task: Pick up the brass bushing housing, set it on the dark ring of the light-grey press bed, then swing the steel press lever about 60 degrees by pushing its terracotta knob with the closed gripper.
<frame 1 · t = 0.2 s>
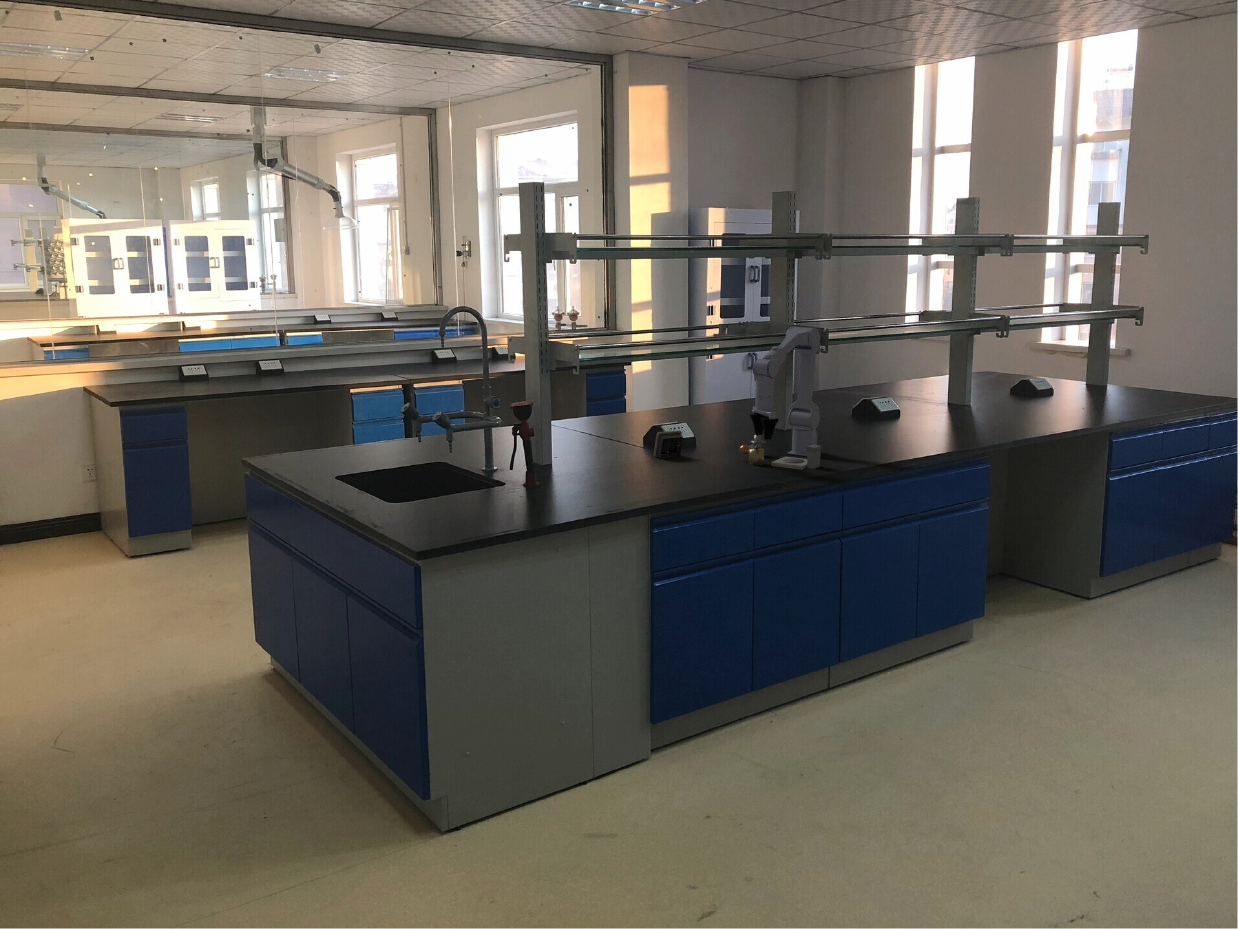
hand: (763, 437, 332), 10 cm above the worktop, fingers open, 7 cm apart
electrical switch: (669, 457, 349), on the worktop
pivot post: (757, 455, 352), on the worktop
press bed: (793, 464, 336), on the worktop
lever: (748, 448, 345), point 4 cm above the worktop, hinge at 0.0°
housing: (756, 464, 338), on the worktop
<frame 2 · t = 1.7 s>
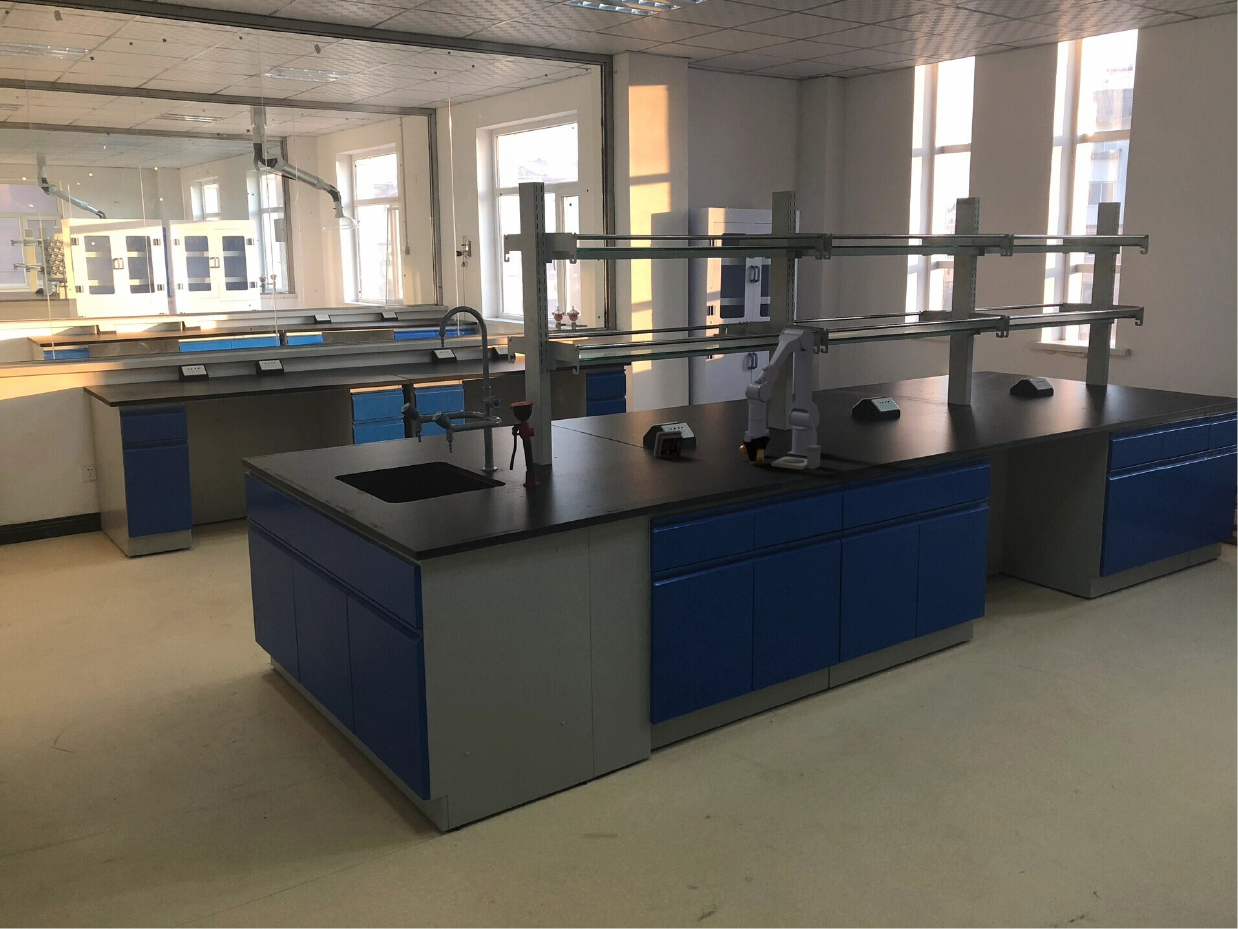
hand: (756, 459, 337), 1 cm above the worktop, fingers closed on housing, 5 cm apart
housing: (756, 463, 338), on the worktop, touching gripper
everything else where it was.
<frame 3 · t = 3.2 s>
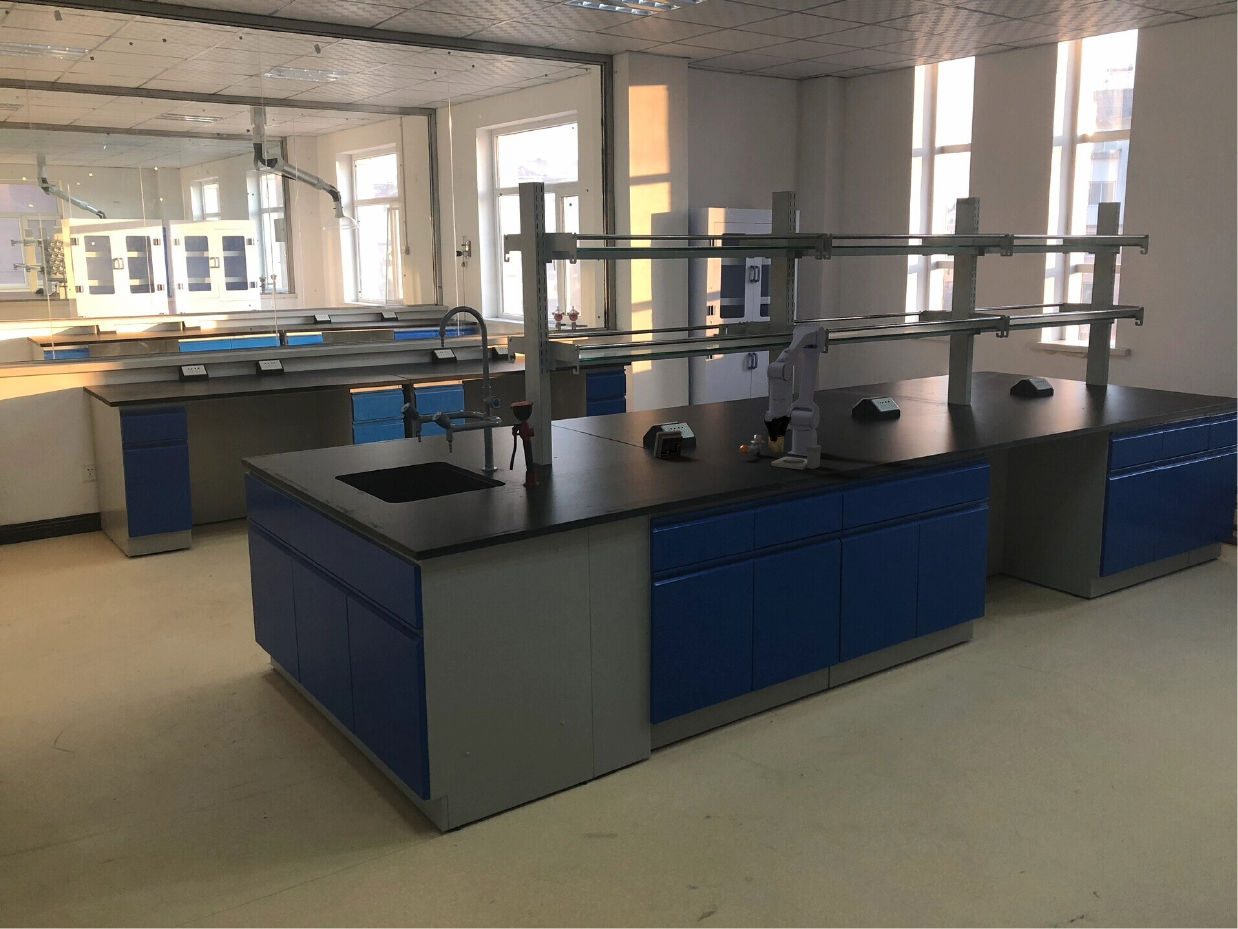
hand: (777, 439, 335), 8 cm above the worktop, fingers closed on housing, 5 cm apart
housing: (775, 450, 336), point 4 cm above the worktop, touching gripper
everything else where it was.
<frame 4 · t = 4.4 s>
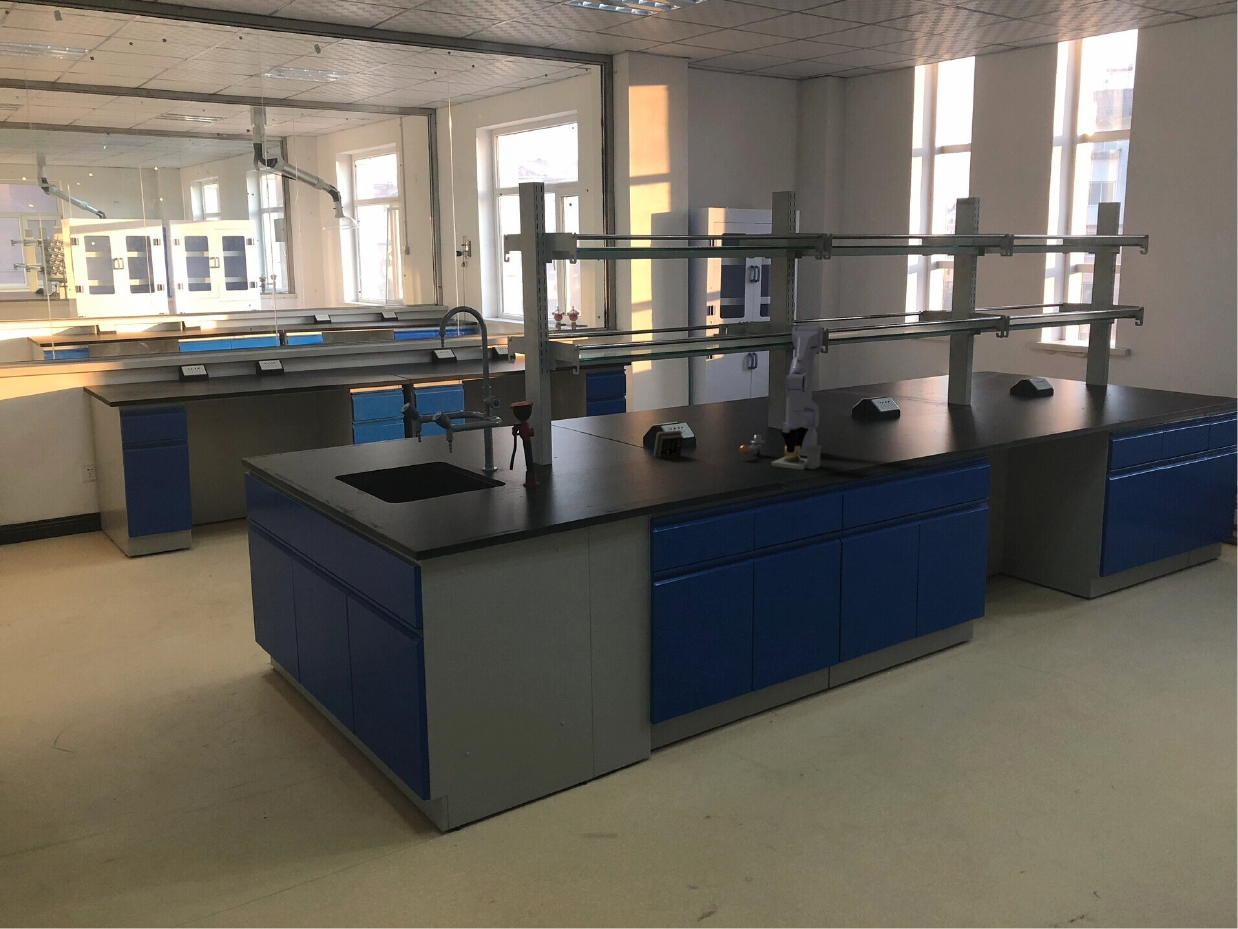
hand: (794, 451, 335), 5 cm above the worktop, fingers closed on housing, 5 cm apart
housing: (792, 460, 336), point 1 cm above the worktop, touching gripper, press bed
everything else where it was.
when the fingers open (4 cm above the worktop, at t = 5.1 s): housing stays where it is, resting on press bed.
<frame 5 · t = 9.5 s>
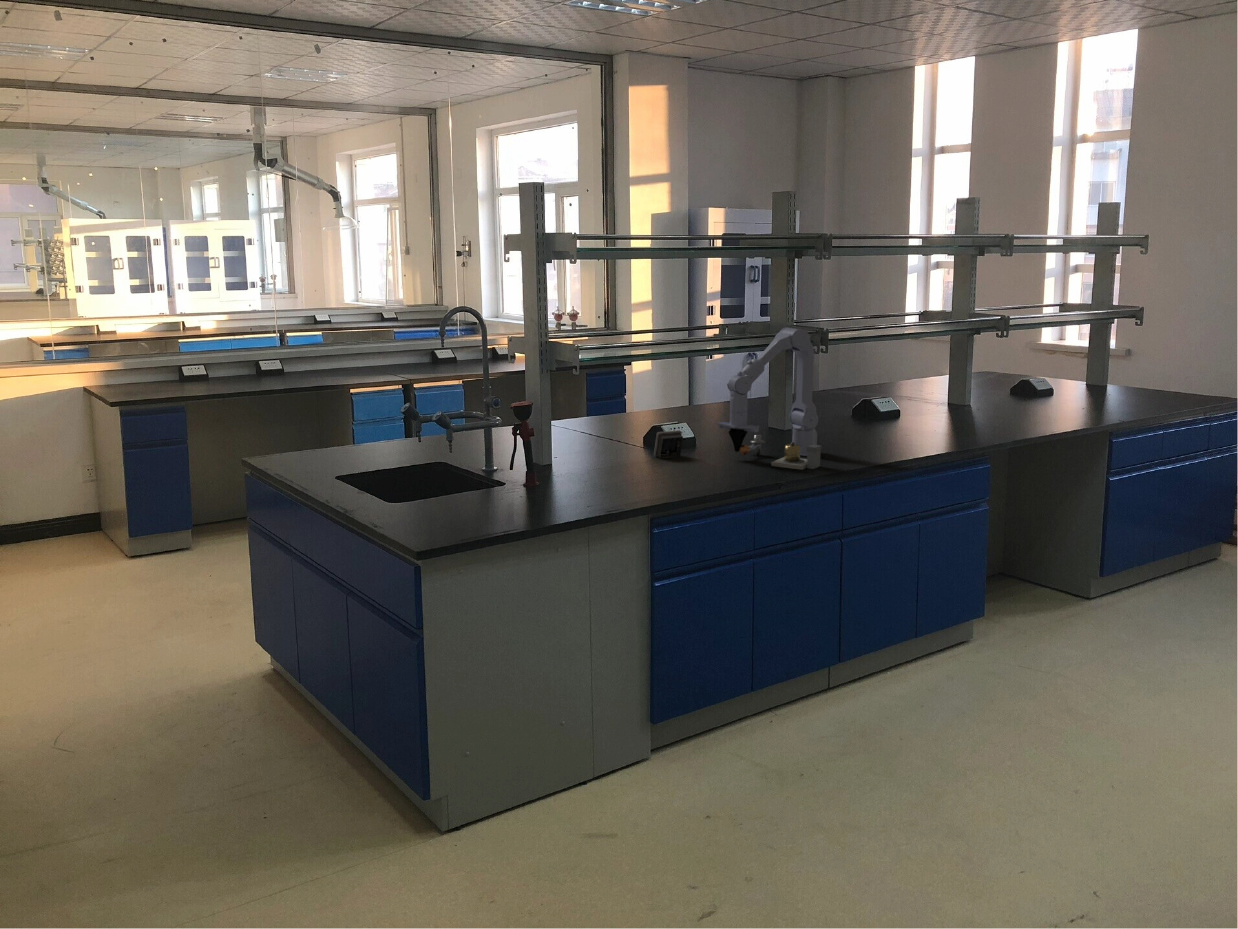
hand: (737, 451, 344), 3 cm above the worktop, fingers closed
lever: (748, 448, 345), point 3 cm above the worktop, hinge at 0.2°, touching gripper
housing: (792, 460, 336), point 1 cm above the worktop, touching press bed
everything else where it was.
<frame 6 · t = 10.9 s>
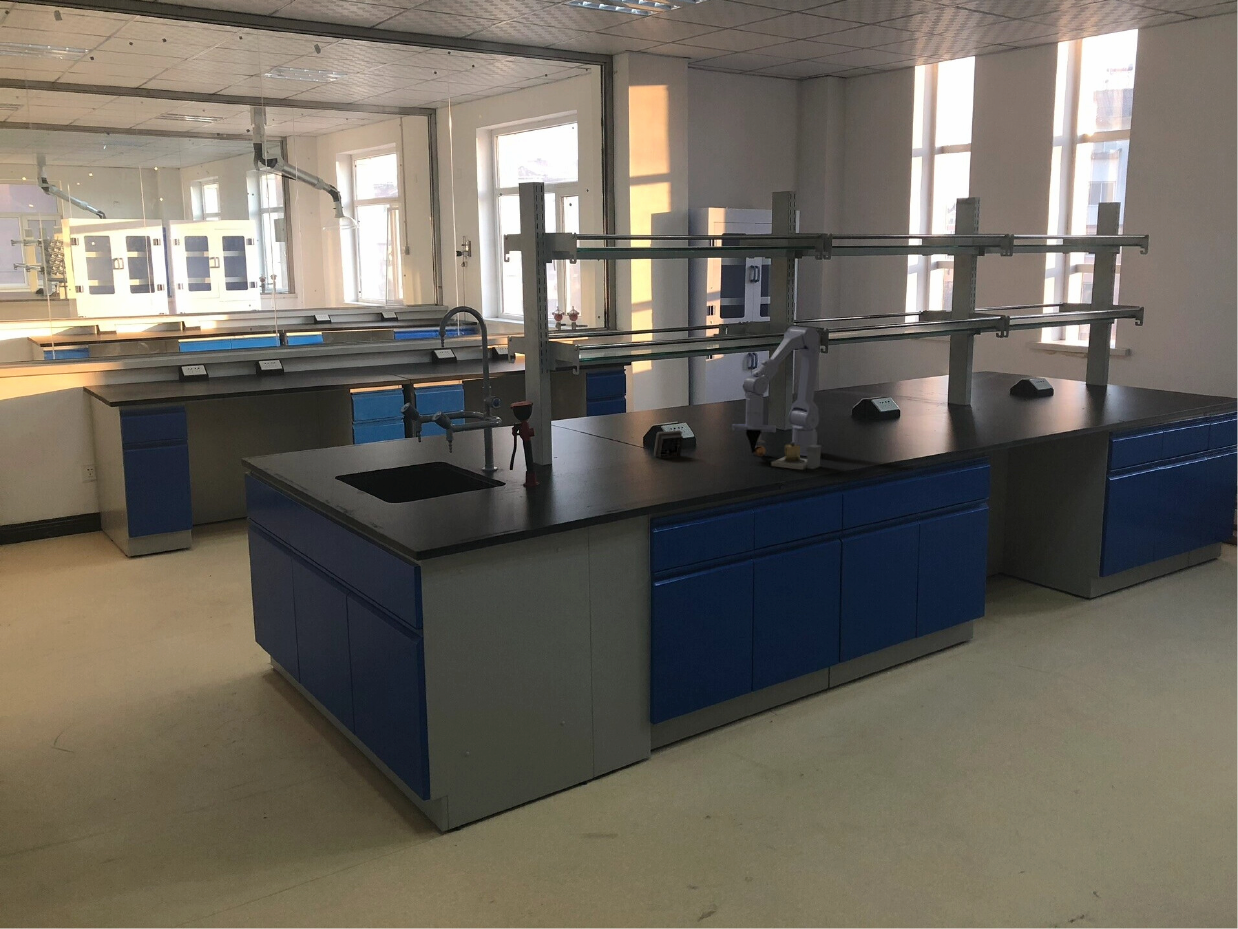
hand: (753, 452, 342), 3 cm above the worktop, fingers closed
lever: (759, 449, 344), point 3 cm above the worktop, hinge at 31.3°, touching gripper
everything else where it was.
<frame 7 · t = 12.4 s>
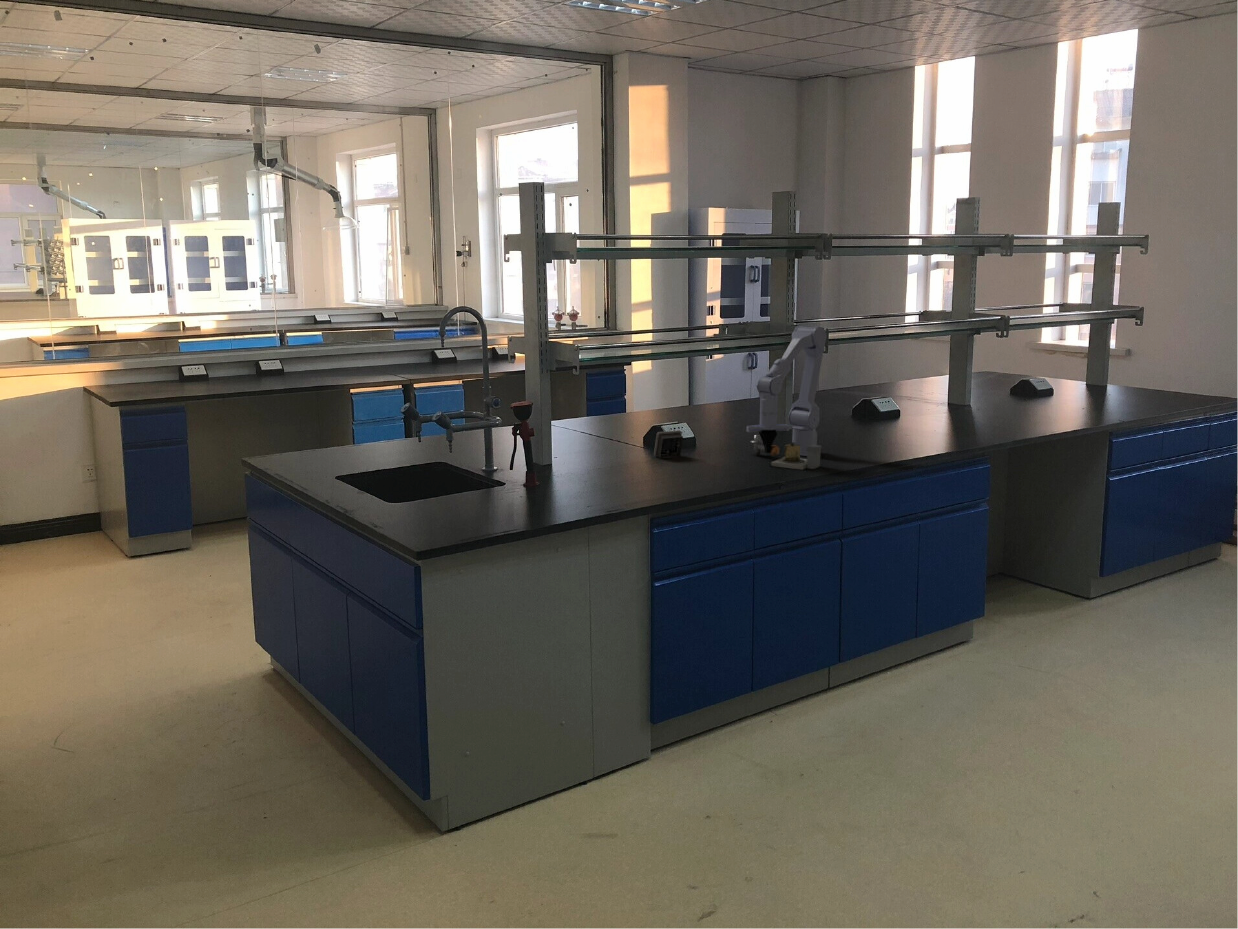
hand: (767, 452, 341), 3 cm above the worktop, fingers closed
lever: (768, 448, 345), point 3 cm above the worktop, hinge at 60.0°, touching gripper
everything else where it was.
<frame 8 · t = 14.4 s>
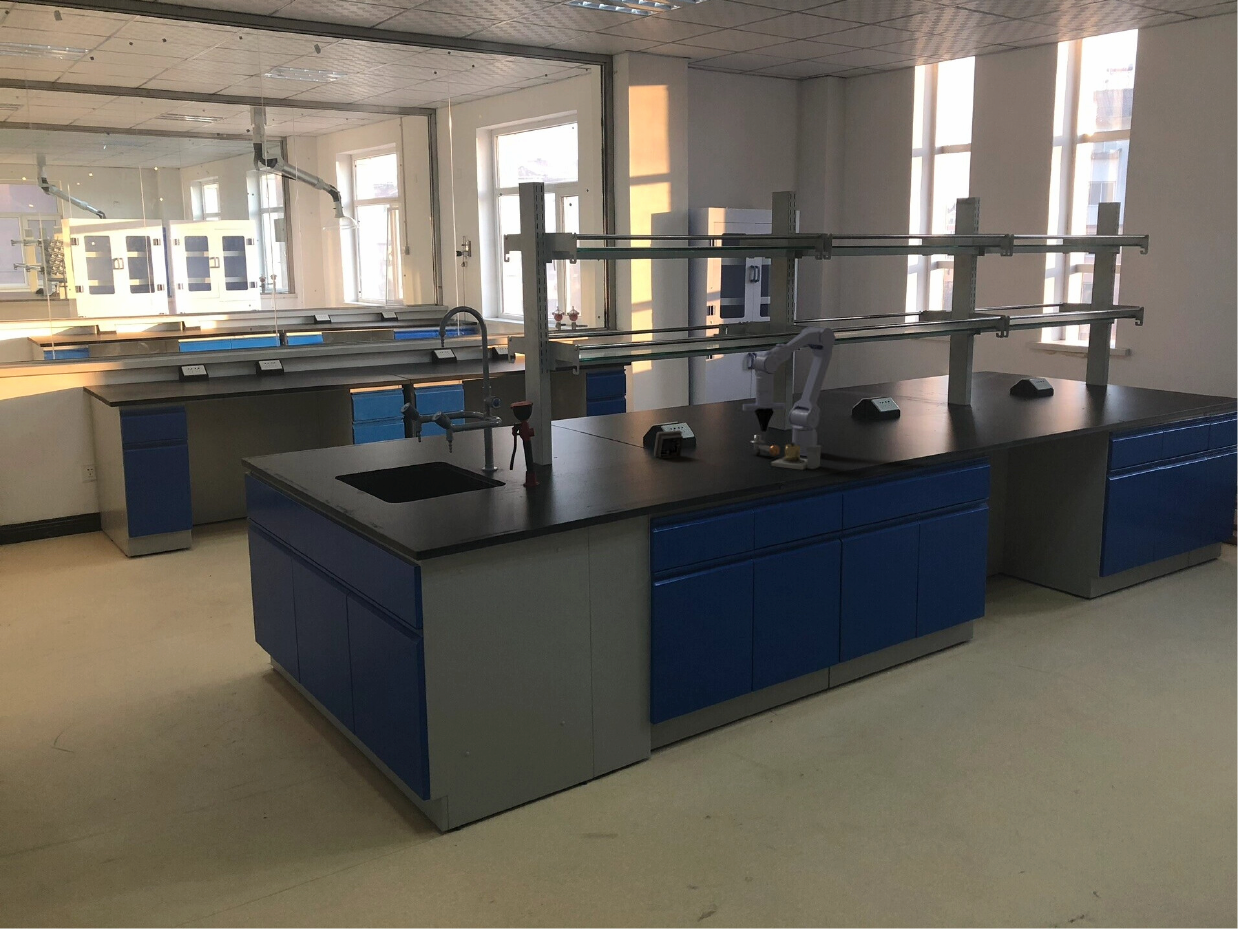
hand: (763, 431, 342), 10 cm above the worktop, fingers closed
lever: (768, 448, 345), point 3 cm above the worktop, hinge at 60.7°
everything else where it was.
at the end: housing inside the target area on the press bed (0.6 cm from its centre), point 1.4 cm above the press bed's base; housing tilted 0°; lever at +61° (first picture: +0°) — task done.
